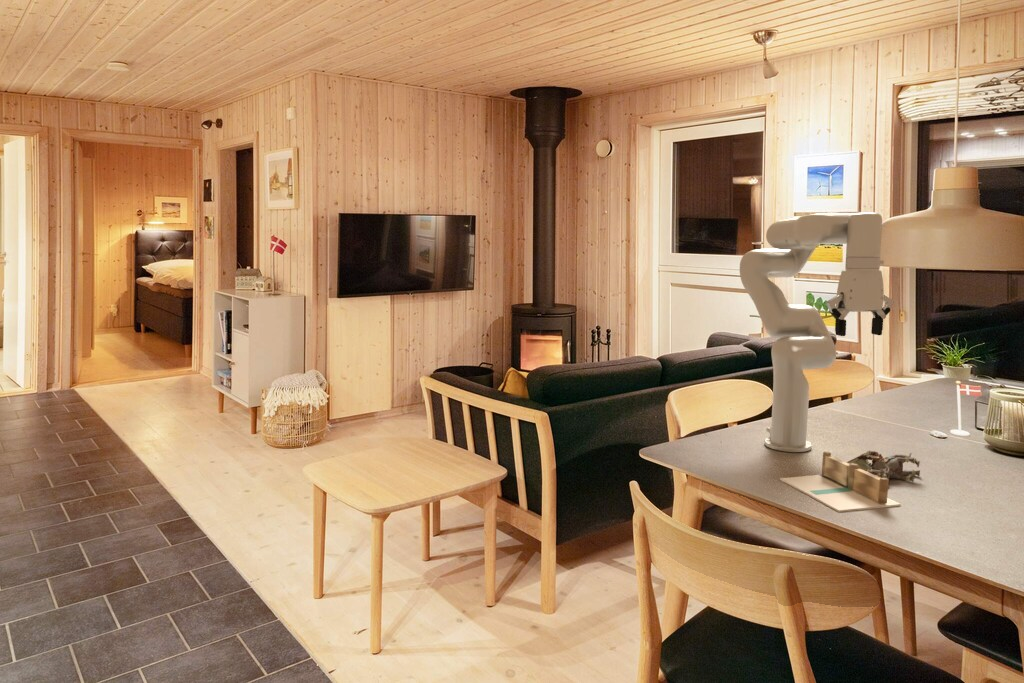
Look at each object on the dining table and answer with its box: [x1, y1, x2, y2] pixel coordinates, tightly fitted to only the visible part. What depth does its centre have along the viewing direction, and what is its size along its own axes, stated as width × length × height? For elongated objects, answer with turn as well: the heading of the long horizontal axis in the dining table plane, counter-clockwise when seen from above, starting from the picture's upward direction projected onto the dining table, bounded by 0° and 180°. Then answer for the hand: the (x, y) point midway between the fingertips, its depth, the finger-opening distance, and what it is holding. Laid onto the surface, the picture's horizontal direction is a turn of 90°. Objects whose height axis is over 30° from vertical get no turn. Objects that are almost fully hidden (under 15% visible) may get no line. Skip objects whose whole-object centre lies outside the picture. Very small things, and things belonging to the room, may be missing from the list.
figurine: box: [846, 450, 921, 483], centre depth 190 cm, size 20×6×17 cm
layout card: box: [779, 474, 901, 513], centre depth 178 cm, size 22×16×1 cm
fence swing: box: [853, 469, 890, 504], centre depth 172 cm, size 10×2×5 cm, turn 14°
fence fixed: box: [821, 451, 859, 491], centre depth 183 cm, size 12×2×6 cm, turn 14°
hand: (858, 335), depth 185 cm, fingers open, 9 cm apart
